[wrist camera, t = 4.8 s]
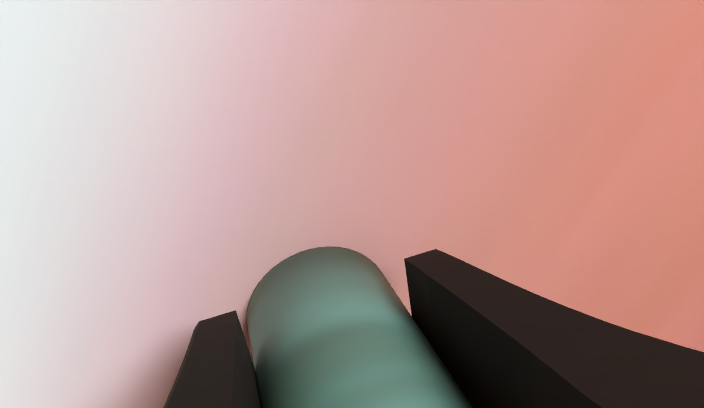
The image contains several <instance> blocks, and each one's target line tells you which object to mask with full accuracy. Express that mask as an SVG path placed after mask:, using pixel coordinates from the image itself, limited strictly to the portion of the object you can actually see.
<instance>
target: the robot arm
mask: <svg viewBox="0 0 704 408" xmlns="http://www.w3.org/2000/svg"><path fill="white" fill-rule="evenodd" d="M405 267H406V275H407V282H408V290H409V298H410V305H411V313H412V318H413V319H414V321H415V322H416V324H417V325H418V327H419V328H420V330H421V331H422V333H423V334H424V336H425V337H426V339H427V340H428V342H429V343H430V345H431V346H432V348H433V349H434V351H435V352H436V353H437V355H438V356H439V358H440V359H441V361H442V362H443V364H444V365H445V367H446V368H447V370H448V371H449V373H450V374H451V376H452V377H453V379H454V380H455V382H456V383H457V385H458V386H459V388H460V389H461V391H462V392H463V394H464V395H465V397H466V398H467V399H468V401H469V402H470V404H471V405H472V407H473V408H704V352H701V351H697V350H693V349H690V348H686V347H683V346H680V345H676V344H673V343H670V342H667V341H663V340H660V339H657V338H654V337H650V336H647V335H644V334H641V333H637V332H634V331H631V330H628V329H625V328H622V327H619V326H617V325H614V324H611V323H608V322H605V321H602V320H600V319H597V318H595V317H592V316H589V315H587V314H584V313H581V312H579V311H576V310H573V309H571V308H568V307H566V306H563V305H561V304H558V303H556V302H553V301H551V300H548V299H546V298H544V297H541V296H539V295H537V294H534V293H532V292H530V291H527V290H525V289H523V288H520V287H518V286H516V285H514V284H511V283H509V282H507V281H505V280H503V279H500V278H498V277H496V276H494V275H492V274H490V273H487V272H485V271H483V270H481V269H479V268H477V267H475V266H472V265H470V264H468V263H466V262H464V261H462V260H460V259H457V258H455V257H453V256H451V255H449V254H446V253H444V252H442V251H439V250H437V249H435V250H431V251H428V252H425V253H421V254H418V255H415V256H412V257H408V258H405ZM163 408H262V406H261V400H260V395H259V389H258V383H257V378H256V372H255V368H254V365H253V362H252V359H251V356H250V353H249V350H248V347H247V344H246V341H245V338H244V334H243V331H242V328H241V325H240V322H239V319H238V316H237V313H236V310H235V311H232V312H229V313H225V314H222V315H219V316H216V317H212V318H209V319H206V320H202V321H199V323H198V324H197V326H196V327H195V329H194V331H193V334H192V337H191V340H190V343H189V346H188V349H187V351H186V354H185V357H184V359H183V362H182V365H181V367H180V370H179V372H178V375H177V377H176V380H175V382H174V385H173V387H172V389H171V392H170V394H169V396H168V398H167V401H166V403H165V405H164V407H163Z"/></svg>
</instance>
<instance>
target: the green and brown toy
mask: <svg viewBox="0 0 704 408" xmlns="http://www.w3.org/2000/svg"><path fill="white" fill-rule="evenodd" d="M247 327H248V333H249V339H250V344H251V350H252V356H253V362H254V367H255V372H256V378H257V383H258V389H259V395H260V400H261V406H262V408H473V407H472V405H471V404H470V402H469V401H468V399H467V398H466V397H465V395H464V394H463V392H462V391H461V389H460V388H459V386H458V385H457V383H456V382H455V380H454V379H453V377H452V376H451V374H450V373H449V371H448V370H447V368H446V367H445V365H444V364H443V362H442V361H441V359H440V358H439V356H438V355H437V353H436V352H435V351H434V349H433V348H432V346H431V345H430V343H429V342H428V340H427V339H426V337H425V336H424V334H423V333H422V331H421V330H420V328H419V327H418V325H417V324H416V322H415V321H414V319H413V318H412V316H411V315H410V313H409V312H408V310H407V309H406V308H405V306H404V305H403V303H402V302H401V300H400V299H399V297H398V296H397V294H396V293H395V291H394V290H393V288H392V287H391V285H390V284H389V282H388V281H387V279H386V278H385V276H384V275H383V273H382V272H381V271H380V269H379V268H378V267H377V265H376V264H375V263H373V262H372V261H371V260H370V259H369V258H367V257H366V256H364V255H362V254H360V253H358V252H356V251H353V250H350V249H346V248H341V247H319V248H314V249H309V250H306V251H302V252H299V253H297V254H295V255H293V256H290V257H289V258H287V259H285V260H283V261H282V262H280V263H279V264H278V265H276V266H275V267H274V268H273V269H271V270H270V271H269V272H268V273H267V274H266V275H265V276H264V278H263V279H262V280H261V281H260V283H259V284H258V286H257V287H256V289H255V290H254V293H253V295H252V297H251V299H250V302H249V306H248V311H247Z"/></svg>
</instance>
